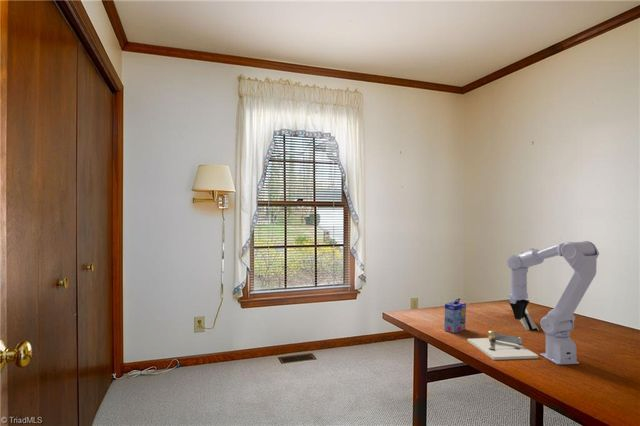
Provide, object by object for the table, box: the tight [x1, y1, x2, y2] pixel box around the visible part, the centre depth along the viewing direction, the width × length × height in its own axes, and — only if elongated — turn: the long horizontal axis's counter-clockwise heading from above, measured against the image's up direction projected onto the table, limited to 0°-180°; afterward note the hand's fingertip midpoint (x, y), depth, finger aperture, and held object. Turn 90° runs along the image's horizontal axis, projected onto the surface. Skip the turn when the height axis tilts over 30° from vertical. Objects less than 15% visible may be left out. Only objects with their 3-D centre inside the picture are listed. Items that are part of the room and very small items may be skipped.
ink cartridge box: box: [444, 297, 467, 334], centre depth 168 cm, size 10×6×14 cm, turn 130°
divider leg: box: [487, 329, 523, 346], centre depth 147 cm, size 12×3×3 cm, turn 52°
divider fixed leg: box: [490, 341, 494, 350], centre depth 144 cm, size 10×1×1 cm, turn 154°
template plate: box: [467, 337, 539, 361], centre depth 143 cm, size 20×17×2 cm
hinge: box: [519, 308, 540, 332], centre depth 174 cm, size 17×5×10 cm, turn 162°
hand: (519, 318), depth 148 cm, fingers closed
